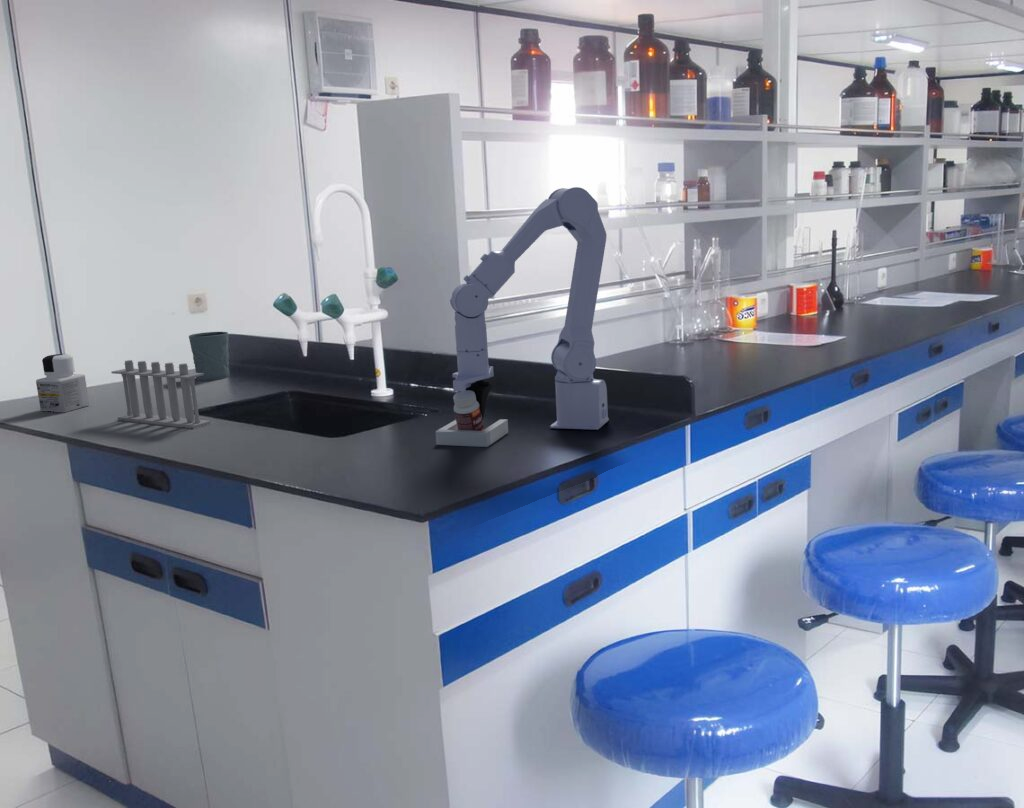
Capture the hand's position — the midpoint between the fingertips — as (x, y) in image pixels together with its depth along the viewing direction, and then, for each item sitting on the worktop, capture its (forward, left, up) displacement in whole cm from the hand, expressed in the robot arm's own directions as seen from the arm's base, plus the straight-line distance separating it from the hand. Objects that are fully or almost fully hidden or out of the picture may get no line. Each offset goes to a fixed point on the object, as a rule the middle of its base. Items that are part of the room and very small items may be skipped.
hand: (476, 421), depth 176 cm
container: (+111, -10, -3) cm, 112 cm away
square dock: (0, +2, -3) cm, 3 cm away
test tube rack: (+74, -2, -3) cm, 74 cm away
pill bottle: (0, +2, -2) cm, 3 cm away
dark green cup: (+99, -50, -3) cm, 111 cm away
